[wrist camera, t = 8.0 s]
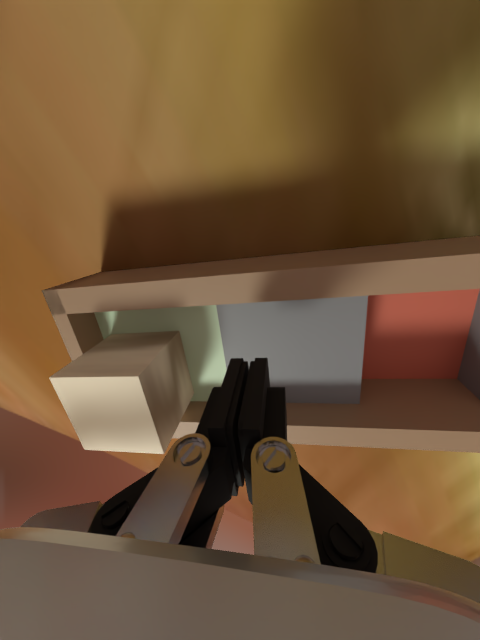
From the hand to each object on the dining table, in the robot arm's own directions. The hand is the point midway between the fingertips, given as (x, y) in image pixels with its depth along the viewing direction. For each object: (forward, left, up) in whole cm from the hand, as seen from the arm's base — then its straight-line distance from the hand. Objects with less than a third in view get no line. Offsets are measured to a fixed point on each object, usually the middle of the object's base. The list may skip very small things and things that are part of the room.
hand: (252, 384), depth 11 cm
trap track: (+1, +5, -7) cm, 9 cm away
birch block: (+2, -8, -4) cm, 9 cm away
